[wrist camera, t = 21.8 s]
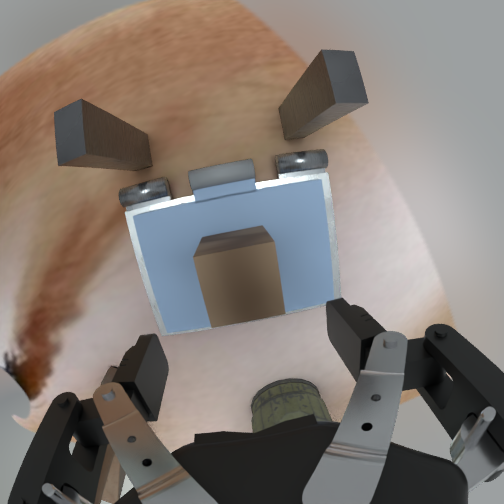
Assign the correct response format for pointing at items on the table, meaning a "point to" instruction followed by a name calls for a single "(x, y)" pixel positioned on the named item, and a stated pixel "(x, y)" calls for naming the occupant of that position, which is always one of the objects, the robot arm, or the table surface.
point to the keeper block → (239, 276)
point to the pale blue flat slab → (230, 219)
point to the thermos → (286, 403)
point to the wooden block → (110, 466)
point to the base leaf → (289, 171)
